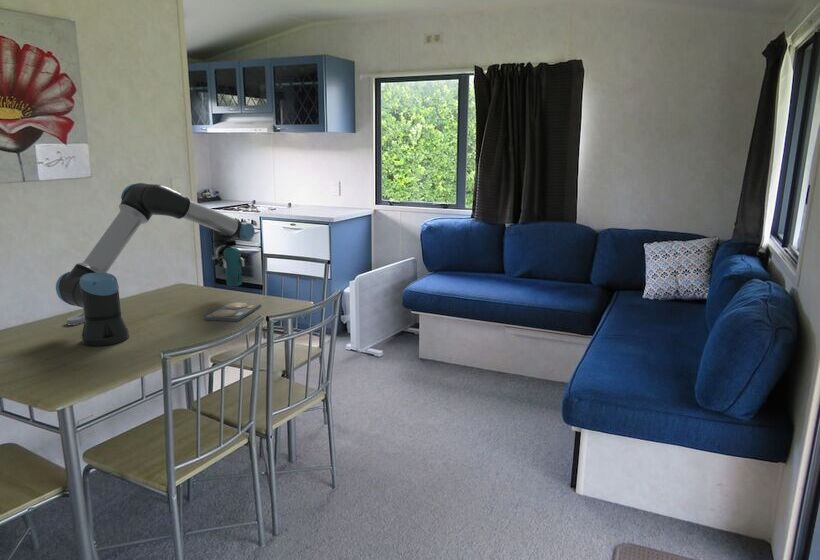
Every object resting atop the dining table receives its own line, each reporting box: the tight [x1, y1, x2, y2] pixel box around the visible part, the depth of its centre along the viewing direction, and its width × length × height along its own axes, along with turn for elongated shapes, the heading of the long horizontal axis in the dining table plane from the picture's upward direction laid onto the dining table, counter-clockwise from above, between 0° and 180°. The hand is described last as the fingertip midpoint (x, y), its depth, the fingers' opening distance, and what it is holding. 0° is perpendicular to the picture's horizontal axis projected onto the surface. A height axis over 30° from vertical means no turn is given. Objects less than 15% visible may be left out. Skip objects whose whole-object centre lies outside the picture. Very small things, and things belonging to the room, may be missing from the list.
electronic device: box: [65, 311, 85, 325], centre depth 235 cm, size 5×10×15 cm
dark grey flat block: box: [204, 302, 262, 322], centre depth 245 cm, size 22×14×2 cm, turn 170°
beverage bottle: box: [224, 239, 243, 287], centre depth 244 cm, size 6×7×20 cm
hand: (234, 264), depth 239 cm, fingers closed on beverage bottle, 6 cm apart
